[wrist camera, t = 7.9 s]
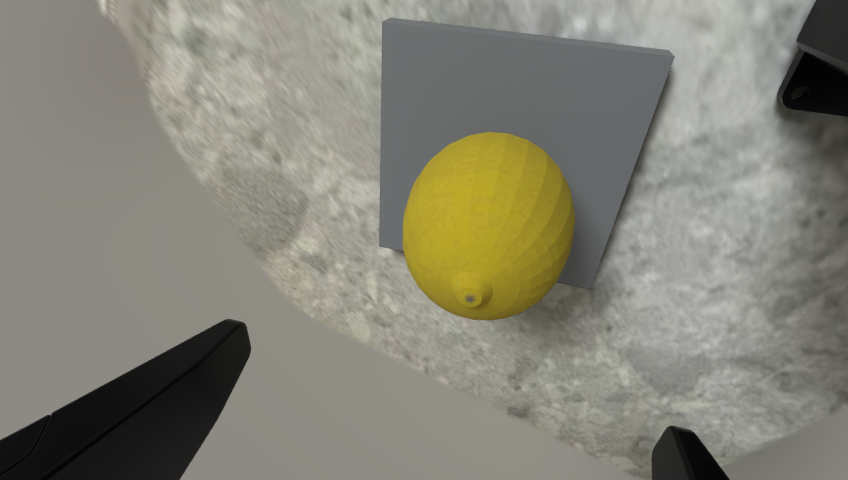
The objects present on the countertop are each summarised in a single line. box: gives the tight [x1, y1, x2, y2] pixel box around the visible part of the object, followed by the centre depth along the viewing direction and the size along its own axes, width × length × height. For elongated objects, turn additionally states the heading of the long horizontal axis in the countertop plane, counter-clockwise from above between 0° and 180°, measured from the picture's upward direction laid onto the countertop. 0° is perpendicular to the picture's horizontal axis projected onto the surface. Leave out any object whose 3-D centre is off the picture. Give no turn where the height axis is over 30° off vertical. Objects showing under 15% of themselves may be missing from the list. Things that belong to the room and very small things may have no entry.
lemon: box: [403, 132, 575, 320], centre depth 15 cm, size 6×6×8 cm
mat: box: [379, 18, 675, 289], centre depth 19 cm, size 10×10×1 cm
